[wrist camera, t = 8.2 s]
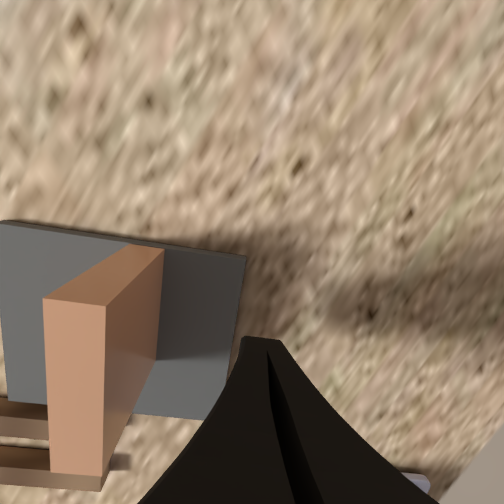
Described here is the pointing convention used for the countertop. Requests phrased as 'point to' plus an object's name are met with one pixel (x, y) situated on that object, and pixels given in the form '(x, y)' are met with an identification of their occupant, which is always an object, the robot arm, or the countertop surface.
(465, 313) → the countertop surface
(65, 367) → the tile
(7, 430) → the rack
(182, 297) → the mat
